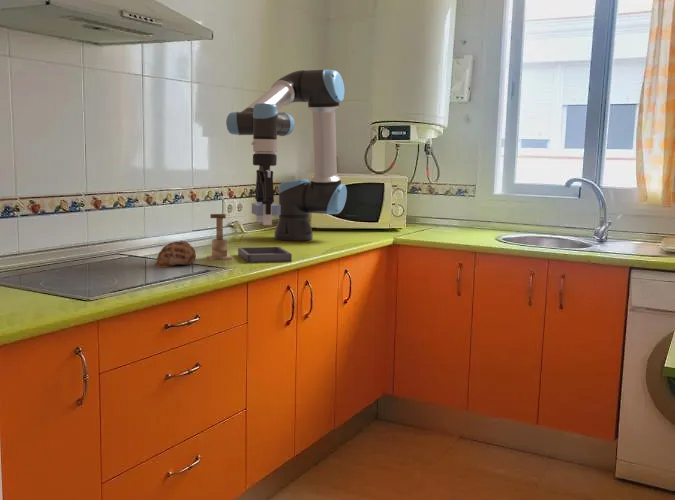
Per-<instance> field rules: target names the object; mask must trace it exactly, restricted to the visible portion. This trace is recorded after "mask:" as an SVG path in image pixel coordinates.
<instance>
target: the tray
mask: <svg viewBox="0 0 675 500" xmlns="http://www.w3.org/2000/svg"><path fill="white" fill-rule="evenodd" d="M292 254H293V253H291V252H290V251H288V250H285V249H284V248H282V247H281V246H257V247H256V246H253V247H250V246H249V247H244V246H243V247H237V255H238V257H240V259H241V260H243V261H244V262H246V263H247V264H258V263H257V262H265V263H288V262H289V263H291V262H292V256H293V255H292Z"/></svg>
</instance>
